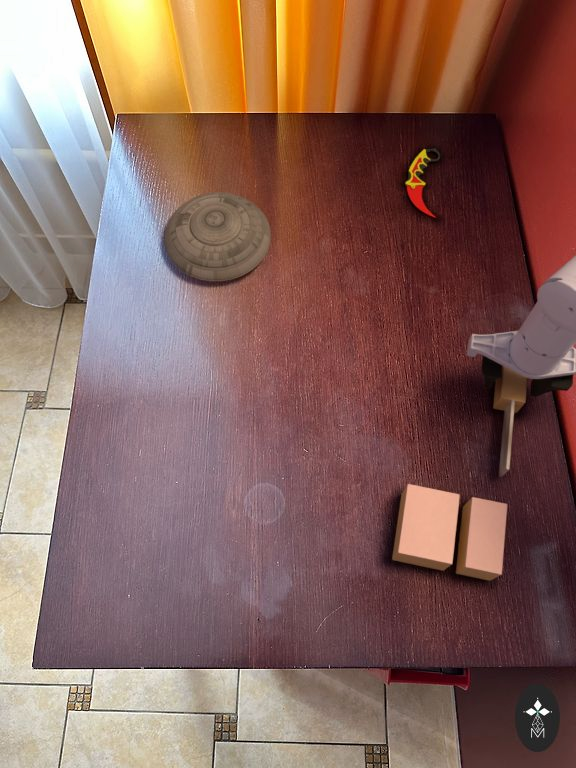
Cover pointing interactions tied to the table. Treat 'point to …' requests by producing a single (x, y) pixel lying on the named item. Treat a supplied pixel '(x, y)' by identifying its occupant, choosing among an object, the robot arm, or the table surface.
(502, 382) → the chisel
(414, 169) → the knife
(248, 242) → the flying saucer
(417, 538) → the pink rectangular block
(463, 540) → the light tan rectangular block
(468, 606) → the table surface
